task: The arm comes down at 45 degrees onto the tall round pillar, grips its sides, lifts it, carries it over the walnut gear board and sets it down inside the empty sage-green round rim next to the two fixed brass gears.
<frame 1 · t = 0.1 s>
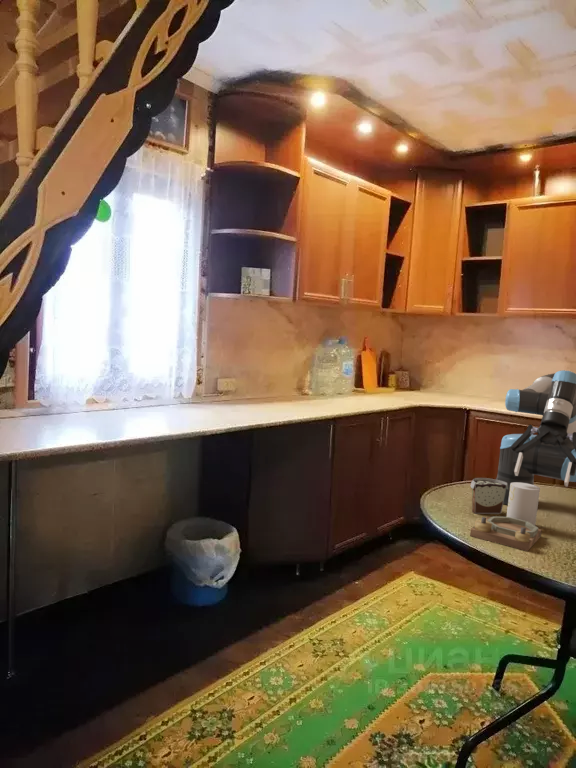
hand: (540, 479, 168), 15 cm above the table, tool tilted 35°, fingers open, 13 cm apart
tall round pillar: (520, 525, 173), on the table
food container: (482, 511, 186), on the table
gear board: (505, 536, 162), on the table
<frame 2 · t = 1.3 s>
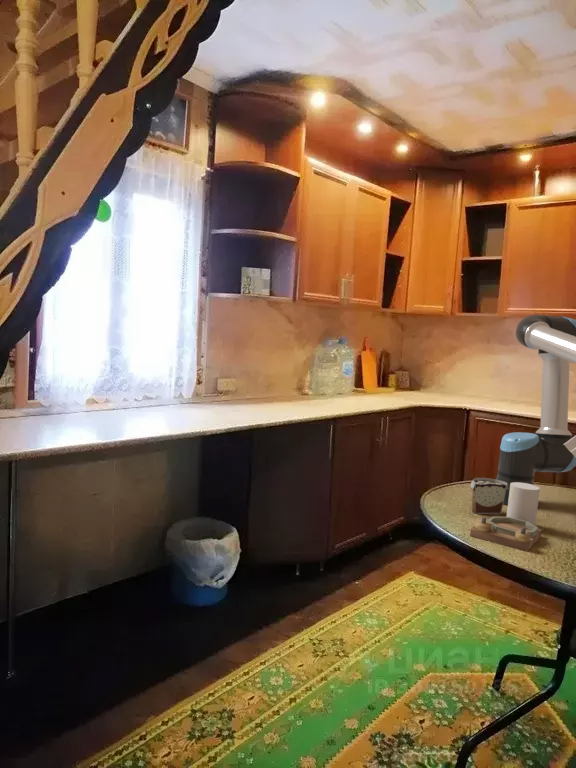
hand: (570, 451, 167), 24 cm above the table, tool tilted 45°, fingers open, 13 cm apart
nothing on the table moved.
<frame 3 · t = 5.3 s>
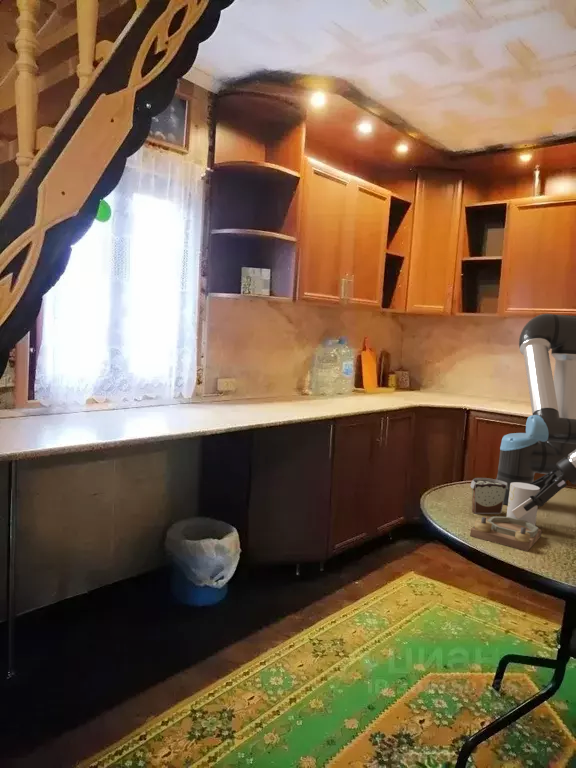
hand: (513, 509, 173), 5 cm above the table, tool tilted 45°, fingers open, 12 cm apart
nothing on the table moved.
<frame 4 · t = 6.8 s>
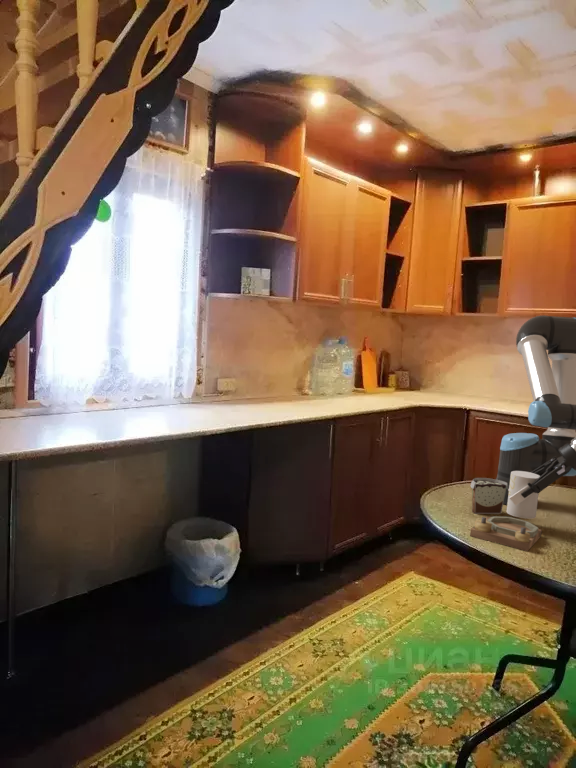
hand: (511, 497, 173), 8 cm above the table, tool tilted 45°, fingers closed on tall round pillar, 8 cm apart
tall round pillar: (520, 514, 173), point 3 cm above the table, touching gripper
everything else where it was.
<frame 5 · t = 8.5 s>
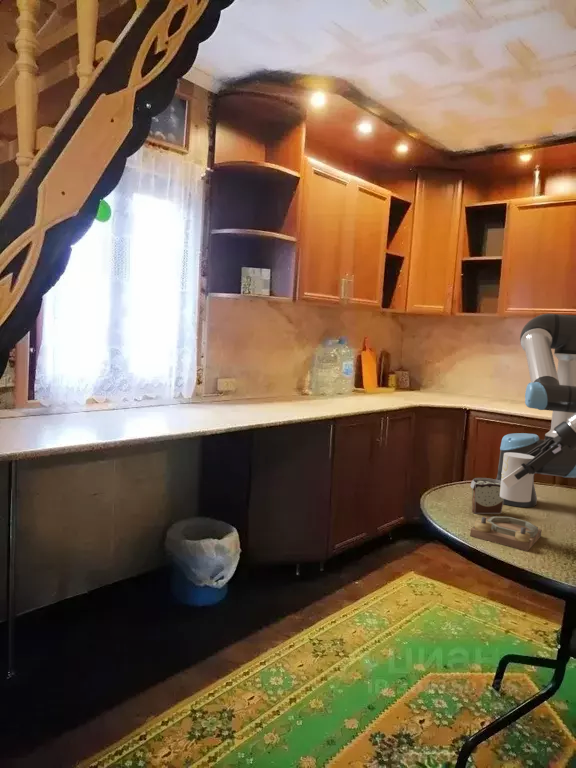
hand: (504, 480, 162), 15 cm above the table, tool tilted 45°, fingers closed on tall round pillar, 8 cm apart
tall round pillar: (514, 498, 162), point 11 cm above the table, touching gripper
everything else where it was.
when the fingers open (7 cm above the table, at t = 10.3 s): tall round pillar stays where it is, resting on gear board.
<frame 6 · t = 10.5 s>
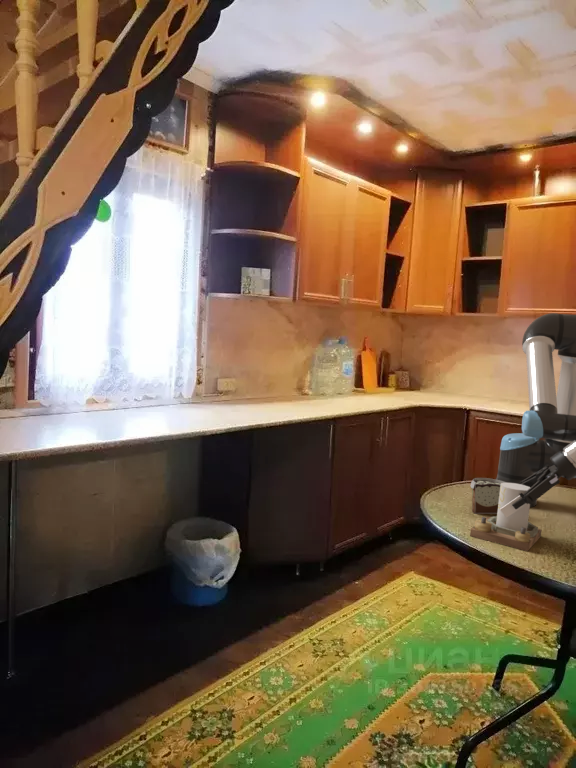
hand: (502, 508, 163), 7 cm above the table, tool tilted 45°, fingers open, 10 cm apart
tall round pillar: (511, 529, 163), point 2 cm above the table, touching gear board
everything else where it was.
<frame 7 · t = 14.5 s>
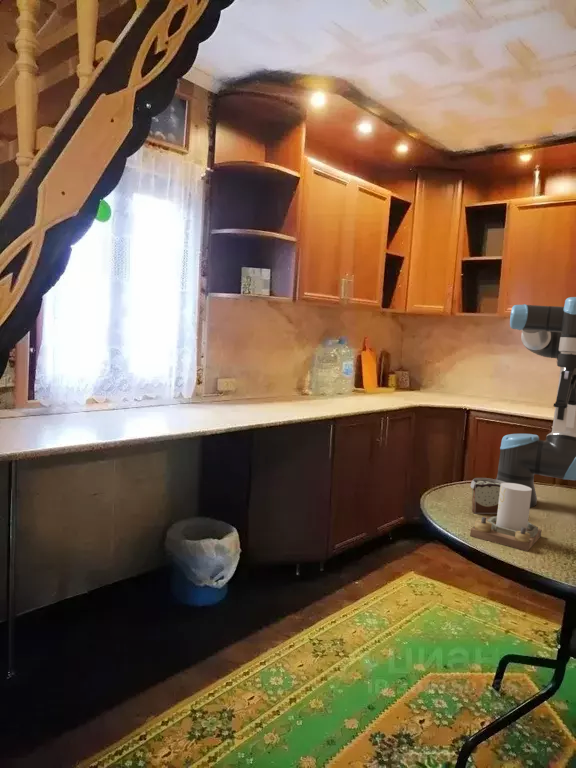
hand: (563, 429, 163), 31 cm above the table, tool pointing down, fingers open, 13 cm apart
nothing on the table moved.
at the end: tall round pillar inside the target area on the gear board (0.2 cm from its centre), point 1.8 cm above the gear board's base; tall round pillar tilted 0°; the gripper is holding nothing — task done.
